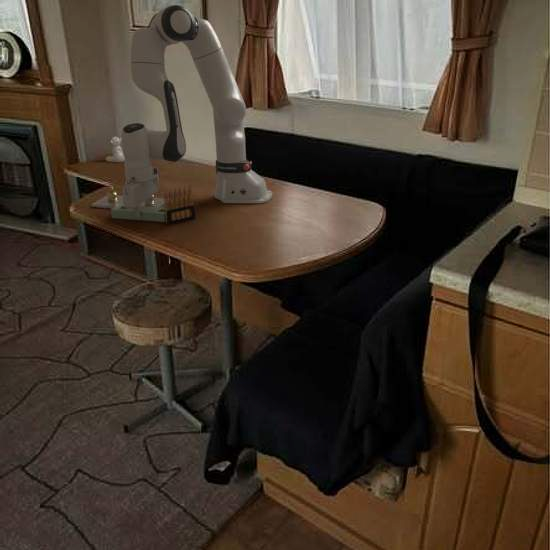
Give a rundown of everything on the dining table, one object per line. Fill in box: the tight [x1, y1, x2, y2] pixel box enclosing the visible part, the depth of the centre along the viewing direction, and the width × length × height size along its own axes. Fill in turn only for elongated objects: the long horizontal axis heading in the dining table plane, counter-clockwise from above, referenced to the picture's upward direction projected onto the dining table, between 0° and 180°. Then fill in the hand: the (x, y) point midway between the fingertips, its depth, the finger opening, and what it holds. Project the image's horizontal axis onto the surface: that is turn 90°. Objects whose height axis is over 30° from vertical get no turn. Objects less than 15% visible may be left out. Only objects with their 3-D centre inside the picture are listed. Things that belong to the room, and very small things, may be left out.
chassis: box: [91, 185, 165, 210], centre depth 201 cm, size 26×12×7 cm, turn 77°
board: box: [110, 204, 165, 223], centre depth 189 cm, size 22×6×3 cm, turn 76°
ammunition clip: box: [163, 184, 196, 226], centre depth 183 cm, size 11×2×12 cm, turn 125°
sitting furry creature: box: [105, 136, 125, 163], centre depth 261 cm, size 10×9×12 cm
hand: (143, 212), depth 189 cm, fingers closed on board, 6 cm apart
